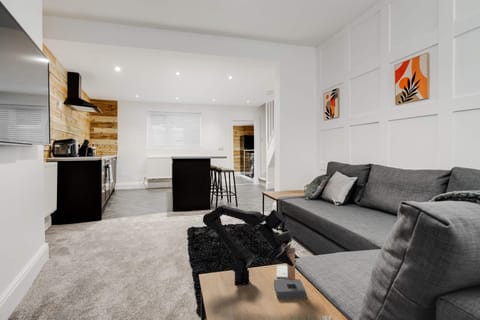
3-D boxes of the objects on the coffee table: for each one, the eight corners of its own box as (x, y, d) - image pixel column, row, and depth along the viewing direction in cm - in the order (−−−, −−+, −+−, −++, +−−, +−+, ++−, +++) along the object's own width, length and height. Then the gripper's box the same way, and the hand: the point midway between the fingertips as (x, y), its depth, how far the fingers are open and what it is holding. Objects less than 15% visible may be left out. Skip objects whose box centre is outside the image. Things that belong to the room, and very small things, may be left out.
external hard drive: (292, 268, 129) (293, 280, 117) (276, 268, 130) (276, 279, 118) (292, 265, 129) (293, 277, 117) (276, 265, 130) (276, 276, 118)
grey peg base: (277, 298, 101) (276, 291, 101) (274, 286, 111) (273, 279, 111) (305, 298, 101) (305, 291, 101) (300, 285, 111) (300, 279, 111)
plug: (287, 281, 103) (287, 250, 103) (286, 276, 106) (285, 247, 106) (296, 280, 102) (295, 250, 103) (294, 276, 106) (294, 247, 106)
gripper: (274, 229, 98) (302, 261, 93) (287, 219, 115) (311, 245, 109) (256, 246, 102) (282, 277, 97) (272, 233, 118) (295, 260, 113)
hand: (294, 264), depth 104 cm, fingers closed on plug, 3 cm apart
